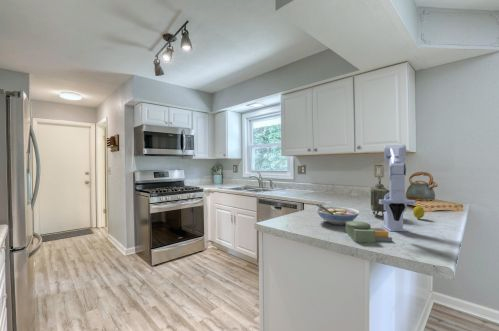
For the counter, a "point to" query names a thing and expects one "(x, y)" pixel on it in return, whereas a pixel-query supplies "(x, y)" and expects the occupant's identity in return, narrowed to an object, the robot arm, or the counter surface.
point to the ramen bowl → (337, 214)
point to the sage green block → (363, 232)
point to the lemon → (418, 212)
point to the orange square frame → (380, 232)
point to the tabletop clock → (376, 195)
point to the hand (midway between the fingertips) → (396, 220)
